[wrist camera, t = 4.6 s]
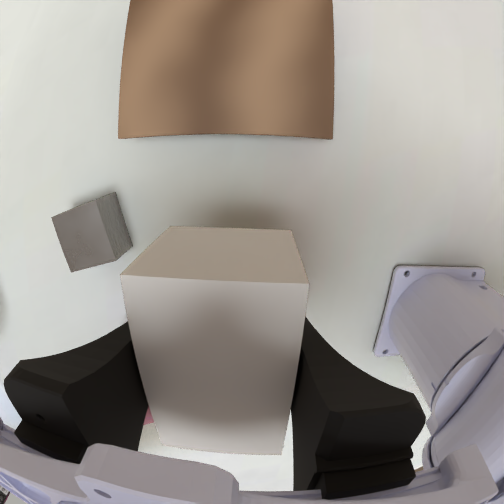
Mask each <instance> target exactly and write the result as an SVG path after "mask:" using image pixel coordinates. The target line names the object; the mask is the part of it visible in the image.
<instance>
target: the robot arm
mask: <svg viewBox="0 0 504 504" xmlns="http://www.w3.org/2000/svg"><path fill="white" fill-rule="evenodd" d="M405 271H408V273H407V274H406V275H404V273H405ZM473 272H474V273H473ZM472 273H473V275H472ZM484 276H485V270H484V269H483V268H481V267H439V266H397V267H396V268H395V269H394V272H393V276H392V281H391V286H390V290H389V294H388V298H387V303H386V307H385V311H384V314H383V318H382V322H381V326H380V329H379V333H378V336H377V340H376V343H375V347H374V350H373V352H374V354H375V356H377V357H380V356H392V355H401V357H402V359H403V360H404V362H405V364H406V366H407V367H408V369H409V371H410V373H411V375H412V376H413V378H414V380H415V382H416V384H417V386H418V387H419V389H420V391H421V393H422V395H423V397H424V399H425V401H426V403H427V404H428V406H429V408H430V410H431V412H432V413H431V416H430V417H429V419H428V420H427V421H426V425H427V427H428V429H429V432H430V434H431V437H430V438H429V439H428V440H427V442H426V443H425V445H424V448H423V453H422V463H423V468H424V470H422V471H419V472H415V471H414V468H413V465H412V462H411V460H410V459H411V458H412V457H413V452H412V449H411V445H412V444H413V443H414V441H415V440H416V438H417V437H418V435H419V434H420V432H421V430H422V429H423V426H424V424H425V420H426V416H425V414H424V412H423V410H422V408H421V406H420V403H419V402H418V400H417V398H416V396H415V395H414V393H411V392H408V391H405V390H402V389H399V388H396V387H393V386H391V385H389V384H387V383H384V382H382V381H380V380H378V379H376V378H374V377H372V376H370V375H369V374H367V373H365V372H364V371H362V370H361V369H359V368H357V367H356V366H354V365H353V364H352V363H350V362H349V361H348V360H346V359H345V358H344V357H342V356H341V355H340V354H339V353H338V352H337V351H336V350H335V349H333V348H332V347H331V346H330V345H329V344H328V343H327V342H326V341H325V339H324V338H323V337H322V336H321V335H320V334H319V333H318V332H317V330H316V329H315V328H314V327H313V326H312V324H311V323H310V322H309V321H308V319H307V318H306V317H305V322H304V329H303V336H302V343H301V350H300V356H299V363H298V369H297V375H296V381H295V387H294V392H293V398H292V404H291V415H292V427H293V459H294V487H293V491H276V492H265V491H239V483H238V482H237V480H236V479H235V477H234V476H233V475H232V474H231V473H229V472H227V471H225V470H223V469H221V468H219V467H217V466H213V465H209V464H204V463H200V462H195V461H187V460H181V459H174V458H168V457H163V456H157V455H152V454H147V453H142V452H138V446H139V441H140V437H141V433H142V428H143V424H144V420H145V417H146V413H147V409H148V407H149V404H148V401H147V397H146V394H145V390H144V387H143V383H142V379H141V376H140V372H139V368H138V364H137V360H136V356H135V351H134V347H133V343H132V338H131V333H130V328H129V324H128V322H126V323H125V324H123V325H122V326H120V327H118V328H117V329H115V330H113V331H112V332H110V333H108V334H107V335H105V336H103V337H101V338H99V339H97V340H95V341H93V342H90V343H88V344H86V345H83V346H81V347H78V348H75V349H72V350H69V351H67V352H63V353H60V354H56V355H51V356H47V357H42V358H35V359H27V360H20V361H19V363H18V364H17V365H16V366H15V367H14V368H13V370H12V371H11V372H10V373H9V374H8V376H7V377H6V378H5V379H4V387H5V391H6V393H7V395H8V397H9V399H10V401H11V402H12V404H13V406H14V407H15V409H16V410H17V412H18V414H19V415H20V417H21V418H22V421H21V423H20V424H19V426H18V427H17V429H16V430H14V429H13V428H11V427H9V426H7V425H5V424H4V423H3V421H2V419H1V418H0V485H1V486H2V487H4V488H5V489H6V490H8V491H9V492H11V493H13V494H14V495H15V496H17V497H18V498H20V499H22V500H23V501H25V502H26V503H28V504H504V297H503V296H502V295H500V294H499V293H498V292H497V291H495V290H494V289H493V288H492V287H490V286H489V285H488V284H487V283H485V282H484V281H483V280H484ZM384 350H385V351H384Z"/></svg>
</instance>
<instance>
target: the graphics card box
mask: <svg viewBox="0 0 504 504" xmlns="http://www.w3.org/2000/svg"><path fill="white" fill-rule="evenodd" d="M9 494H10V492H9V491H8V490H6V489H5V488H4V487H2V486H1V485H0V504H4V503H5V502H6V500H7V498H8V496H9Z"/></svg>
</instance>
